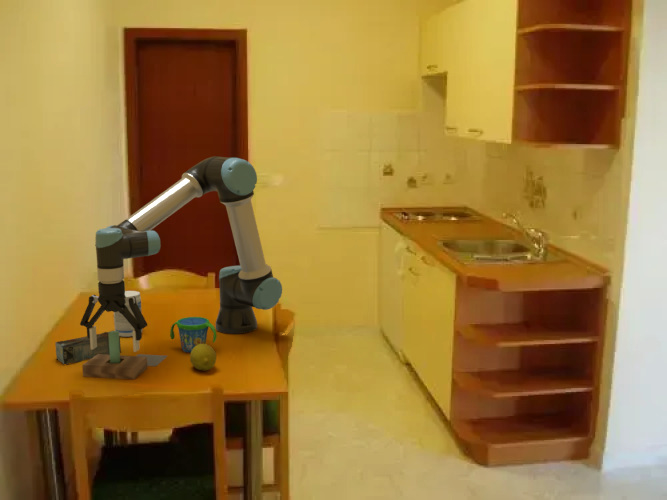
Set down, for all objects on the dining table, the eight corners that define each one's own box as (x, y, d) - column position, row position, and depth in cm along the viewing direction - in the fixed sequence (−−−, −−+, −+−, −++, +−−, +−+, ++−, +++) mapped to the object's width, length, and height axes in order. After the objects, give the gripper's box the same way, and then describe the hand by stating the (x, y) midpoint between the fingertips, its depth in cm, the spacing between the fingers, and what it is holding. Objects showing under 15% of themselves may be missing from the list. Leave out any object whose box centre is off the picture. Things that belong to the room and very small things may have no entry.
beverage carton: (55, 359, 238) (54, 339, 237) (113, 348, 250) (112, 329, 249) (63, 366, 232) (62, 345, 231) (122, 354, 244) (121, 335, 243)
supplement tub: (146, 334, 264) (144, 294, 261) (119, 339, 259) (117, 298, 256) (137, 328, 272) (135, 289, 269) (111, 332, 267) (109, 292, 264)
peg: (122, 372, 227) (120, 331, 224) (118, 375, 224) (116, 333, 221) (113, 371, 227) (111, 330, 225) (108, 374, 224) (106, 333, 222)
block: (147, 369, 229) (146, 356, 228) (134, 380, 219) (133, 367, 219) (98, 366, 231) (97, 354, 231) (83, 377, 222) (82, 364, 221)
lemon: (218, 374, 225) (217, 349, 224) (191, 376, 224) (191, 350, 222) (214, 362, 236) (214, 338, 234) (189, 364, 234) (188, 340, 232)
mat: (167, 357, 241) (167, 355, 240) (156, 367, 231) (156, 366, 231) (138, 355, 242) (138, 354, 242) (125, 365, 232) (125, 364, 232)
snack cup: (222, 347, 250) (221, 318, 248) (207, 357, 240) (206, 327, 238) (180, 343, 255) (179, 314, 253) (164, 352, 245) (163, 322, 243)
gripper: (156, 279, 222) (159, 347, 226) (77, 276, 226) (82, 343, 230) (146, 285, 215) (149, 355, 219) (65, 282, 218) (70, 351, 222)
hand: (115, 349), depth 224 cm, fingers open, 13 cm apart
